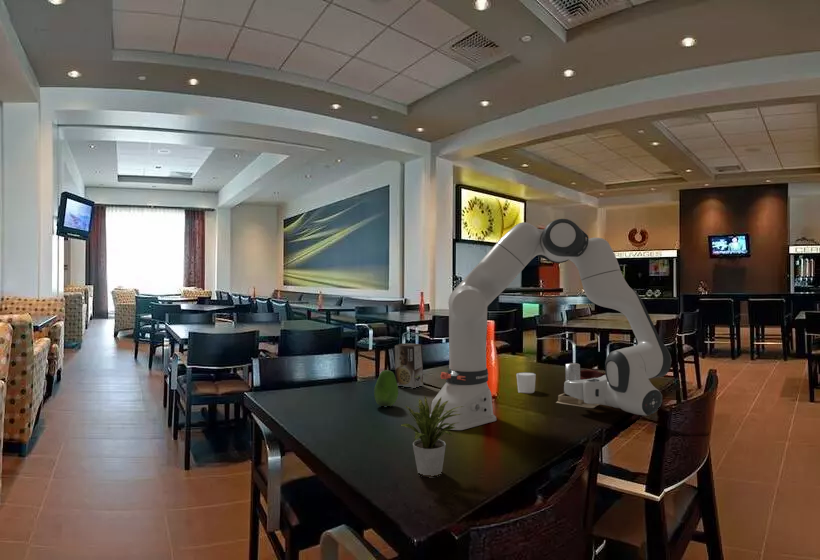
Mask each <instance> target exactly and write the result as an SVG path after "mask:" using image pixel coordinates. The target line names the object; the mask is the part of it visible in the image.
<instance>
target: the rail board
mask: <svg viewBox="0 0 820 560" xmlns="http://www.w3.org/2000/svg"><path fill="white" fill-rule="evenodd" d="M555 404H562V405H569V406H573V407H575V406H576V407H582V408H587V409H594V408H596V407H597V406H599V405H601V404H587V403H585V402H584V400H581V399H577V398H574V397H568V396H566V393H565V392H563V393H561V394H558V395H557V401H556V402H555Z"/></svg>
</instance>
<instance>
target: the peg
mask: <svg viewBox="0 0 820 560" xmlns="http://www.w3.org/2000/svg"><path fill="white" fill-rule="evenodd" d="M564 365H565V369H564V370H565V381H566V380H572V381H573V380H580V371H581V364H580V363H576V362H567V363H565V364H564ZM566 396H568V397H572V396H570V395H567V394H566Z"/></svg>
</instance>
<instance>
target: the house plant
mask: <svg viewBox="0 0 820 560" xmlns="http://www.w3.org/2000/svg"><path fill="white" fill-rule="evenodd" d="M448 401H449V400H448ZM448 401H446V402H444V403H443V404H442V405H441V406H440V407H439V404H440V402H441V398H440V399H439V400H438V402H437V404H436V405H435V407H434V409H433V411H432V413H431V410H430V406H429V404H428V400H427V396H424V403H423V400H422V399H420V398H418V405H416V407H418V410H419V412H418V411H417V412H416V411H414V410H413V409H412V408H410V407H409V406H407V405H405V408H406V409H407V410H408V411H409V412H408V411H406V413H408V414H409V416H410V417H412V419H413V421H415V423H416V425H417V427H418V429H419V430H420V432H421V433H420V432H419V430H418V429H417V428H416V427H415V426H413V425H411V424H410V423H402V424H400V426H401V427H405V428H408V429H411V430H413V431H414V435H415V436H414V441H413V442H412V448H413V453H414V459H415V465H416V469H417V474H418V473H420V474H423V475H431V476H434V475H438V474H441V475H442V473H443V466H444V459H445V453H446V445H447V444H446V442H445V441H444V440H442V439H440V438H441V437H443V435H444V434H447V435H449V436H450V437H451V438H453V434H452V432H451V431H450V429H454V427H455V426H454V425H453V424H456V423H452V424H449V423H444V424H442V423H443V421H444V420H445V419H446V418H449V417H452V416H455V415H460V414H453V415H450V414H451V413H453V412H457V411H452V410H454V409H456V408H460V407H456V408H453V409H451V410H449V411H446V413H445V414H444V415H443V416H442V417H441V418H440V416H441V414H442V413H443V411H444V407H445V405H446V404H447V403H448ZM461 407H464V406H461ZM438 408H439V409H438ZM451 411H452V412H451ZM444 412H445V411H444ZM449 412H450V413H449ZM447 413H448V414H447ZM430 414H431V416H430ZM446 414H447V415H446ZM445 415H446V416H445ZM441 421H442V422H441ZM440 422H441V424H440V425H439V427H437V426H438V424H439V423H440ZM445 425H449V426H448V427H445V428H442V427H443V426H445ZM452 425H453V426H454V427H452ZM455 429H456V428H455ZM441 472H442V473H441Z"/></svg>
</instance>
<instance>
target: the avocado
mask: <svg viewBox="0 0 820 560" xmlns="http://www.w3.org/2000/svg"><path fill="white" fill-rule="evenodd" d="M373 395H374V396H373V397H374V400H375V402H376V404H377V405H378V406H380V407H381V406H390V407H392V406H394V404H395V403H396V401H397V400H398V397H399V387H398V385H397V381H396V374H395V373H394V372H393V370H392V371H391V370H389V369H384V370H382V371H381V373H380V374H379V375H378V378H377V380H376V383H375V385H374V389H373Z"/></svg>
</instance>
